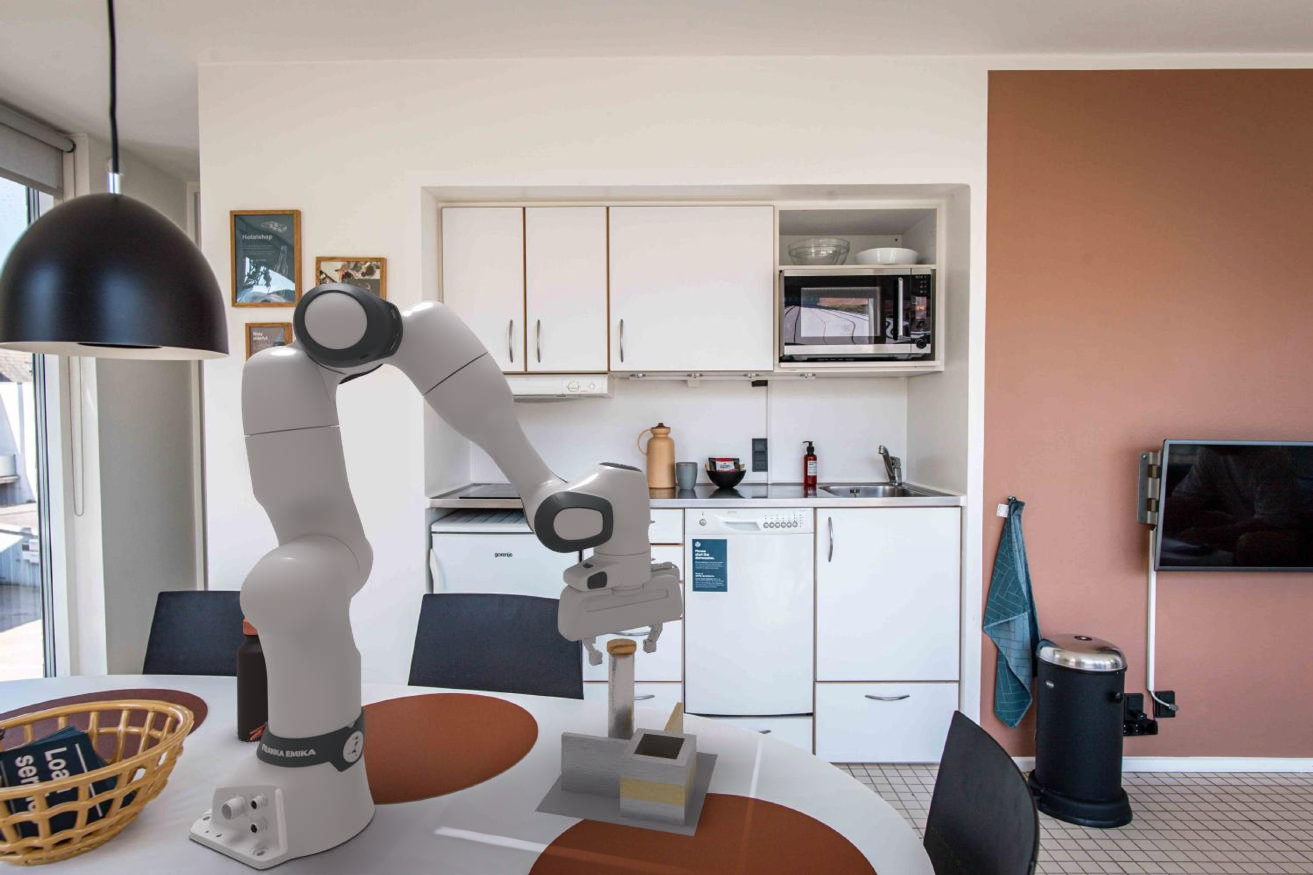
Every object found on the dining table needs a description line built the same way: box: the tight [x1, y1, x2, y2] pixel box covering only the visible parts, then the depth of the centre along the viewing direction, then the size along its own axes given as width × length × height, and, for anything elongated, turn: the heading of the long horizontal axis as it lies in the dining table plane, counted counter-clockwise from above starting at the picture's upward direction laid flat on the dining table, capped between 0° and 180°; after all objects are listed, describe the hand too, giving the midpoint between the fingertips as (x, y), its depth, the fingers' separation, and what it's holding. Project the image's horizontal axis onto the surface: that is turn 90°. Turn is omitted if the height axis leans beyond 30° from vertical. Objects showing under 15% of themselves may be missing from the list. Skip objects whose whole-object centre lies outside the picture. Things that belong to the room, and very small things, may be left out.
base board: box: [534, 751, 718, 837], centre depth 96 cm, size 22×21×1 cm
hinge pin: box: [606, 637, 638, 740], centre depth 100 cm, size 5×5×19 cm
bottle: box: [236, 617, 268, 742], centre depth 112 cm, size 7×7×20 cm
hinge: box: [560, 701, 697, 826], centre depth 96 cm, size 19×19×8 cm
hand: (623, 657), depth 100 cm, fingers open, 8 cm apart
